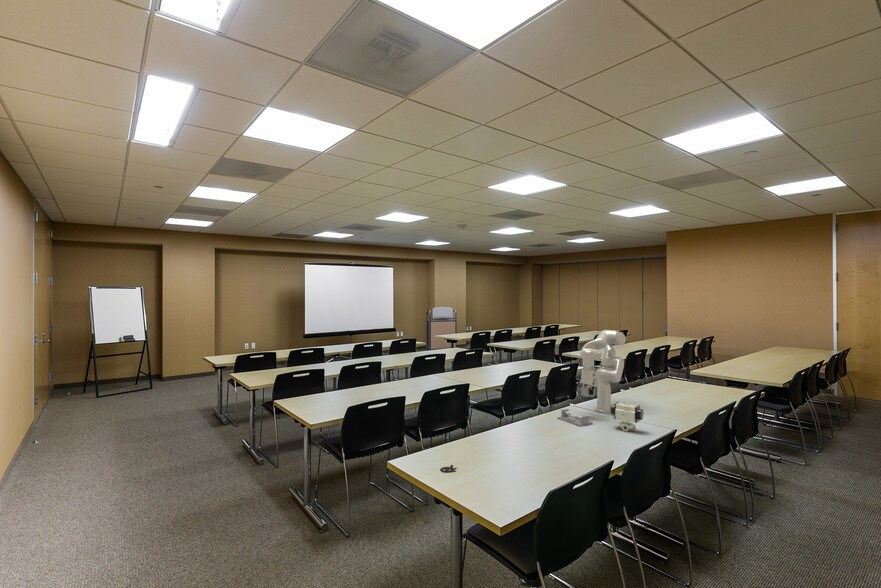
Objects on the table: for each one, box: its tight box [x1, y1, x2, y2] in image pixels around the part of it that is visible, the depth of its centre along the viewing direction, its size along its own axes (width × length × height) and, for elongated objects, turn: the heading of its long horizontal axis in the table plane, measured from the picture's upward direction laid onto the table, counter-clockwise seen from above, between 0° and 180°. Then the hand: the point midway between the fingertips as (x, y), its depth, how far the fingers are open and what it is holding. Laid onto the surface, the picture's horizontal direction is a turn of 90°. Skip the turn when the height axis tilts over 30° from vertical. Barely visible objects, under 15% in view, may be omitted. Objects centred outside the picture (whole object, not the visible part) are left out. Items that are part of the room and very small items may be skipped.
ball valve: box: [610, 401, 644, 432], centre depth 269 cm, size 18×8×18 cm, turn 50°
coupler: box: [580, 385, 596, 398], centre depth 293 cm, size 8×5×6 cm, turn 119°
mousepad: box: [439, 464, 457, 474], centre depth 206 cm, size 9×8×1 cm
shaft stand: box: [557, 408, 594, 428], centre depth 287 cm, size 20×12×6 cm, turn 29°
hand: (588, 393), depth 293 cm, fingers closed on coupler, 5 cm apart
